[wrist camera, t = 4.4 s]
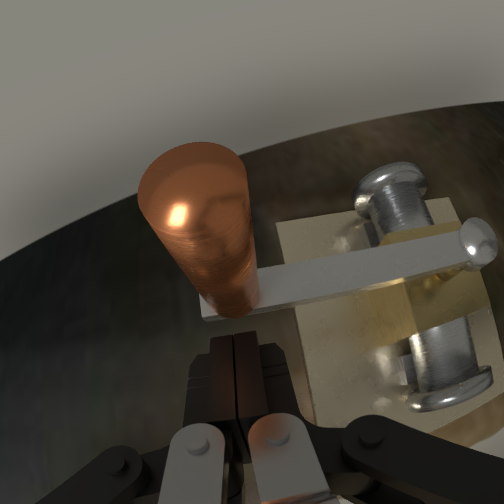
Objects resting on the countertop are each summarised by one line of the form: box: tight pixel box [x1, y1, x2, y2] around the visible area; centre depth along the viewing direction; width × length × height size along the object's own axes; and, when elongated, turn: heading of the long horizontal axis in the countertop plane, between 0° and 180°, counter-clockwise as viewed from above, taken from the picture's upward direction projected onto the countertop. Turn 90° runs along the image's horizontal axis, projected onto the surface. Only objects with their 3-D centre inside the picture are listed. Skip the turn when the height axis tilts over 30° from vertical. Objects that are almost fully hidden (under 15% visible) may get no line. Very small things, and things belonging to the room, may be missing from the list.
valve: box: [275, 162, 504, 433], centre depth 20 cm, size 20×22×12 cm
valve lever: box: [138, 142, 498, 322], centre depth 11 cm, size 17×3×9 cm, turn 99°
